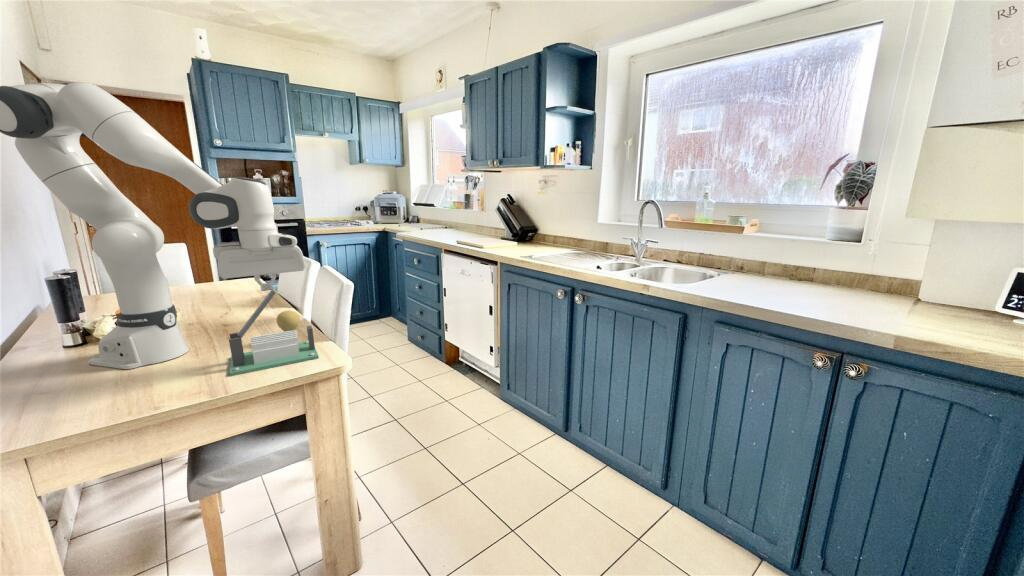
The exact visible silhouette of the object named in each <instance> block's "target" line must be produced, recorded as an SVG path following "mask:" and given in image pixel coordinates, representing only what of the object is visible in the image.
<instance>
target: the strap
mask: <svg viewBox="0 0 1024 576" xmlns="http://www.w3.org/2000/svg"><path fill="white" fill-rule="evenodd" d="M276 293H277V292H276V290H275V289H273V290H269V292H268V293H267V295H266V297H265V298H264V299H263V300H262V301H261V303H260V304H259V306H257V308H256V309H255V310H254V312H253V314H251V316H250V317H249V319H247V322H246V323H245V324H244V325H243V326H242V328H240V330H239V333H238V332H237V333H238V334H237V336H236V338H239V337H240V339H241V340H242V338H243V337H244V336H245V334H246V333H247V331H249V329H250V328H251V327H252V325H253V324H254V323H255V321H256V320H257V318H258V317H259V316H260V315H261V313H262V312H263V310H264V309H265V308H266V307H267V306H268V304H269V303H270V301H272V299H273V297H274V296H275V295H276Z"/></svg>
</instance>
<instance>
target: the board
mask: <svg viewBox="0 0 1024 576" xmlns="http://www.w3.org/2000/svg"><path fill="white" fill-rule="evenodd" d="M306 331H307V332H306V333H307V340H305V341H302V342H299V340H298V339H297V337H298V334H297V335H296V333H295V330H292V331H286V332H284V331H280V332H275V333H274V332H273V333H269V334H262V335H257V336H251V337H250V342H251V343H250V344H251V346H250V347H251V351H246V352H245V351H244V347H243V341H242V338H241V339H240V337H239V338H236V336H237V334H238V333H239V332H240V331H239V332H232V333H229V339H228V342H229V348H230V353H231V354H230V355H231V356H230V364H229V376H230V377H233V376H237V375H242V374H248V373H253V372H259V371H263V370H267V369H272V368H278V367H282V366H287V365H291V364H292V365H294V364H298V363H302V362H307V361H312V360H317V359H319V358H320V357H319V354H318V351H317V349H316V347H315V341H314V339H315V338H314V337H315V336H314V331H313V327H312V325H306Z"/></svg>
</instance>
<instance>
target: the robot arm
mask: <svg viewBox="0 0 1024 576" xmlns="http://www.w3.org/2000/svg"><path fill="white" fill-rule="evenodd" d="M0 133H1V134H3V135H5V136H8V137H9V138H11V137H12V138H15V140H14V145H15V147H16V150H17V152H18V153H19V155H20V156H21V158H22V159H23V161H24V162H25V164H26V165H27V166H28V167H29V168H30V170H31V171H32V172H33V174H34V175H35V176H36V177H37V178H38V179H39V180H40V181H41V183H43V185H44V186H45V187H46V188H47V189H48V190H49V191H50V192H51V193H52V195H54V196H55V197H56V198H57V199H58V200H59V202H61V204H62V205H64V207H65V208H66V209H67V210H68V211H70V213H72V214H73V215H75V216H77V217H79V218H80V219H81V220H83V221H85V223H87V224H89V225H90V226H91V227H92V228H94V229H95V230H96V232H95V233H94V234H93V237H92V239H91V247H92V248H91V249H92V250H93V252H94V254H95V255H96V256H97V257H99V258H100V260H101V263H102V265H103V267H104V269H105V271H106V273H107V275H108V276H109V279H110V280H111V283H112V286H113V288H114V292H115V296H116V300H117V304H118V307H119V313H116V314H113V315H111V317H113V318H112V320H116V319H117V322H116V326H115V327H113V329H112V330H110V331H109V332H108V333H107V334H105V335H104V336H103V337H102V338H101V339H99V342H98V346H97V347H98V354H97V355H95V356H94V357H91V358H90V359H89V360H88V364H89V365H92V366H99V367H105V368H114V369H120V370H122V369H123V370H131V369H135V368H139V367H142V366H143V367H144V366H147V365H153V364H159V363H162V362H166V361H169V360H173V359H175V358H178V357H181V356H182V355H185V354H186V353H188V352H189V350H190V348H189V346H188V343H187V340H186V339H185V338H184V336H183V333H182V330H181V327H180V324H179V321H178V320H177V317H178V315H177V309H176V306H175V305H174V304H173V301H172V296H171V291H170V287H169V283H168V277H166V276H165V274H164V272H163V270H162V267H161V265H160V262H159V260H158V257H157V253H158V252H159V251H160V250H161V249H162V248H163V246H164V243H165V235H164V232H163V230H162V228H161V227H160V226H158V225H157V224H156V223H154V221H152V220H151V218H149V216H147V215H146V214H145V213H144V212H143V211H142V210H141V209H140V208H139V207H138V206H136V205H135V204H134V203H133V202H132V201H131V200H130V199H129V198H128V197H127V196H125V194H124V193H122V192H121V191H120V189H119V188H117V186H116V185H115V184H114V182H113V181H112V180H110V178H109V177H108V176H107V175H106V174H105V173H104V171H103V170H102V169H101V168H100V167H99V165H98V164H97V163H96V162H95V161H94V160H93V159H92V158H91V157H90V156H89V155H88V154H87V153H86V152H85V150H84V149H83V147H82V146H81V143H80V138H86V139H90V140H91V141H92V142H94V143H95V144H96V145H97V146H98V147H100V149H102V150H103V151H104V152H106V153H107V154H109V155H110V156H113V157H114V158H117V159H118V160H119V161H122V163H125V164H128V165H131V166H134V167H138V168H143V169H145V170H150V171H153V172H157V173H160V174H163V175H165V176H167V177H169V178H172V179H174V180H176V181H177V182H178V183H180V184H182V185H183V186H184V187H185V188H187V189H188V190H189V191H191V192H192V193H193V194H194V196H192V197H191V199H190V201H189V204H188V212H189V214H190V217H191V218H192V220H193V221H194V223H195V224H197V225H199V226H201V227H203V228H205V229H211V230H220V229H227V228H237V233H238V238H239V240H237V241H230V242H219V243H218V244H215V246H213V249H212V253H213V257H214V259H216V260H217V273H218V276H219V277H220V278H221V279H222V280H223V279H234V278H245V277H253V278H254V281H255V282H256V283H257V284H258V285H259V286H260V291H261V292H265V291H271V290H274V286H273V285H274V283H275V281H276V278H277V274H283V273H285V274H286V273H292V272H293V273H294V272H302V271H305V269H306V261H305V258H304V254H303V251H302V250H301V248H300V247H299V246H298V245H297V244H298V239H297V237H296V236H293V235H291V234H286V233H283V232H282V233H280V232H278V228H277V224H276V223H275V206H274V203H273V202H274V201H273V197H272V193H271V189H270V188H269V185H268V184H267V183H266V182H264V180H261V179H258V178H251V177H243V176H234V177H233V178H231V179H230V180H229V181H227V182H226V183H224V184H223V183H221V182H220V181H219V180H217V178H215V177H214V176H212V175H211V174H209V173H208V172H207V171H206V170H205V169H203V168H202V167H201V166H199V165H198V164H196V163H195V162H194V161H192V159H190V158H189V157H187V156H186V155H185V154H183V153H182V152H181V151H180V150H179V149H177V147H175V145H173V144H172V143H171V142H170V141H168V140H167V138H165V137H164V136H162V134H160V133H159V131H157V130H156V129H155V128H154V127H153V126H151V125H150V124H149V123H148V122H147V121H146V120H145V119H143V118H142V117H141V116H140V115H139V114H138V113H137V112H136V111H134V110H133V109H132V108H131V107H129V106H128V105H126V104H125V103H124V102H122V101H121V100H120V99H118V98H117V97H115V96H113V95H112V94H111V93H109V92H108V91H106V90H105V89H103V88H101V87H100V86H98V85H95V84H93V83H91V82H87V81H74V82H70V83H67V82H64V83H52V82H34V83H30V84H28V83H27V84H26V83H25V84H18V85H11V86H8V85H0ZM263 275H264V276H265V275H269V277H270V281H269V282H267V283H263V282H262V281H261V276H263Z"/></svg>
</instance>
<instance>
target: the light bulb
mask: <svg viewBox="0 0 1024 576" xmlns="http://www.w3.org/2000/svg"><path fill="white" fill-rule="evenodd" d="M300 322H301V318H300V314H299V313H298V312H296V311H295V310H290V309H289V310H284V311H281V312H280V313H279V314H278V315H277V317H276V324H277V326H278V328H279V329H281V330H282V332H286V331H292V330H295V333H296V335H297V340H298V339H299V338H298V337H299V336H298V331H297V328H298V327H299V326H300Z"/></svg>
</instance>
